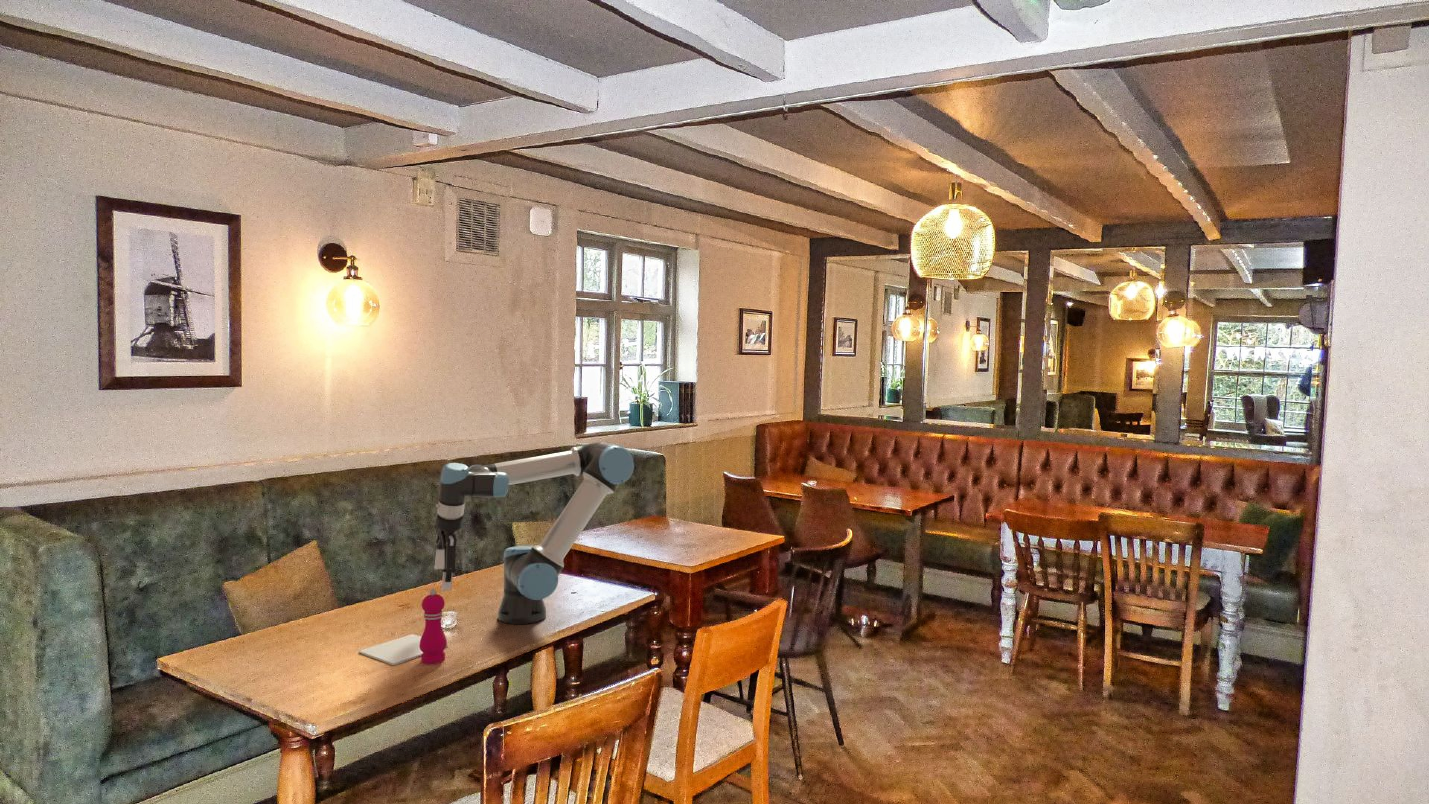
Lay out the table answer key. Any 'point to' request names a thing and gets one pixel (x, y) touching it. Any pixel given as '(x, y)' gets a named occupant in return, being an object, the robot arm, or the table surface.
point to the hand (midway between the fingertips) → (442, 579)
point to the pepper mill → (433, 630)
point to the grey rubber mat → (396, 650)
